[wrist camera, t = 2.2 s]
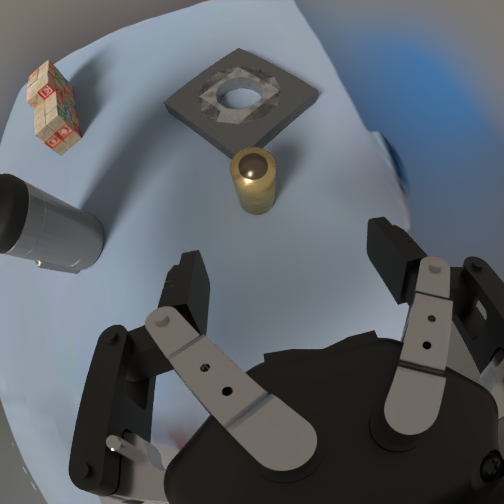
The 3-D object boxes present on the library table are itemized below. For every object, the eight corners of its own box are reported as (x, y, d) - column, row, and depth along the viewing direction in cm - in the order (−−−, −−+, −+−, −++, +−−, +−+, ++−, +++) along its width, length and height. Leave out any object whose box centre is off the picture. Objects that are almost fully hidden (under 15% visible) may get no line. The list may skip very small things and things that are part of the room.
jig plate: (241, 167, 40) (239, 158, 37) (168, 112, 42) (163, 102, 39) (315, 101, 41) (317, 90, 38) (240, 58, 44) (238, 47, 41)
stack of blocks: (83, 138, 43) (48, 106, 31) (60, 156, 43) (24, 129, 31) (73, 86, 47) (48, 58, 35) (54, 101, 47) (28, 75, 35)
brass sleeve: (258, 221, 38) (254, 196, 28) (232, 199, 39) (220, 167, 29) (282, 196, 38) (286, 164, 28) (256, 175, 39) (252, 138, 29)
